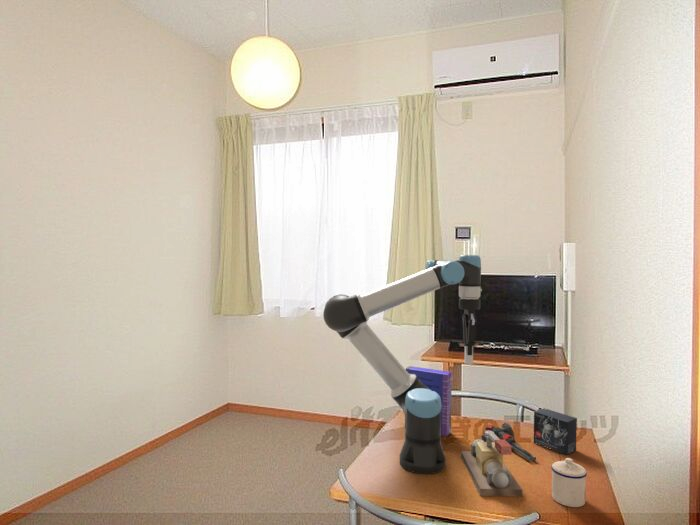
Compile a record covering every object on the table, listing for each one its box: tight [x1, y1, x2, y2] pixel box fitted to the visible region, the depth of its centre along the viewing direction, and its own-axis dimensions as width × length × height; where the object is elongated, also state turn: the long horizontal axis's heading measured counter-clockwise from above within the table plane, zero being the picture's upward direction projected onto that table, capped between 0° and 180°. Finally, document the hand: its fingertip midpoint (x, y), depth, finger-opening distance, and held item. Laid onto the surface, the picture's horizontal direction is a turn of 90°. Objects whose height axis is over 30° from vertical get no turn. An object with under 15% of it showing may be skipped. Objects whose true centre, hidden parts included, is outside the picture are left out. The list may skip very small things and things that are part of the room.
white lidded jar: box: [551, 457, 588, 508], centre depth 134 cm, size 12×9×12 cm
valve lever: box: [484, 430, 513, 456], centre depth 142 cm, size 14×3×2 cm, turn 4°
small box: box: [533, 407, 578, 456], centre depth 170 cm, size 13×7×12 cm, turn 37°
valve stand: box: [460, 438, 523, 497], centre depth 148 cm, size 12×26×12 cm, turn 179°
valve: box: [480, 422, 537, 462], centre depth 169 cm, size 6×26×15 cm
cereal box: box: [405, 366, 453, 438], centre depth 185 cm, size 17×5×24 cm, turn 59°
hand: (468, 363), depth 168 cm, fingers closed
